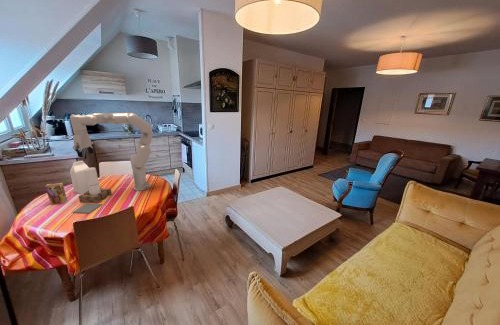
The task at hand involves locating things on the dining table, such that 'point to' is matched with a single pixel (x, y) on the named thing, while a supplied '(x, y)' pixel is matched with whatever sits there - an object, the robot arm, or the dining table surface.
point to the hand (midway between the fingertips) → (86, 155)
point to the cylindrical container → (92, 181)
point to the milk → (79, 177)
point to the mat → (87, 208)
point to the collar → (95, 196)
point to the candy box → (56, 193)
